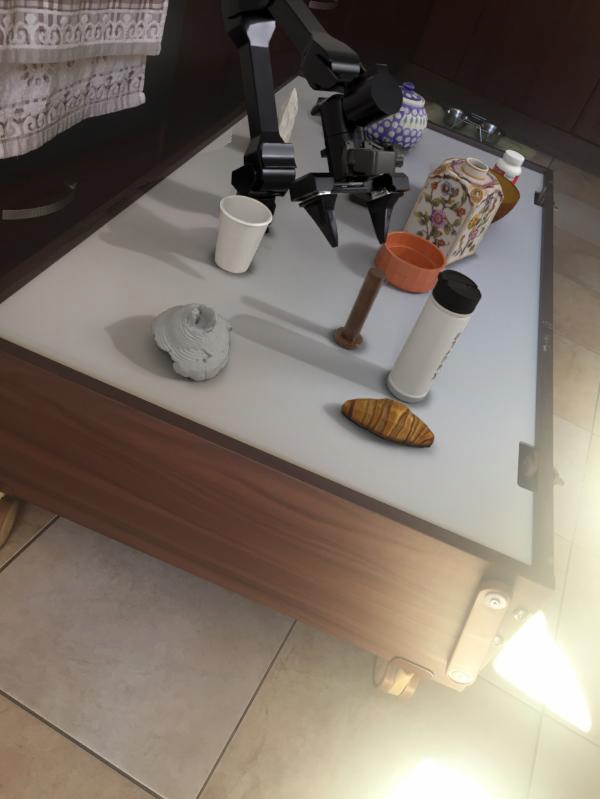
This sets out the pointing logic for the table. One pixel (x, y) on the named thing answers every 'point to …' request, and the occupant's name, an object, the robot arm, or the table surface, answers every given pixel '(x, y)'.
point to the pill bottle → (510, 165)
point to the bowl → (504, 195)
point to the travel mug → (433, 336)
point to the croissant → (389, 421)
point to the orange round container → (410, 262)
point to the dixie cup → (240, 232)
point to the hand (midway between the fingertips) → (359, 245)
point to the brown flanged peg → (360, 310)
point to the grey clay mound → (193, 339)
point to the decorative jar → (456, 207)
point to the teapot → (401, 122)
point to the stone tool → (288, 115)
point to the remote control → (361, 196)
